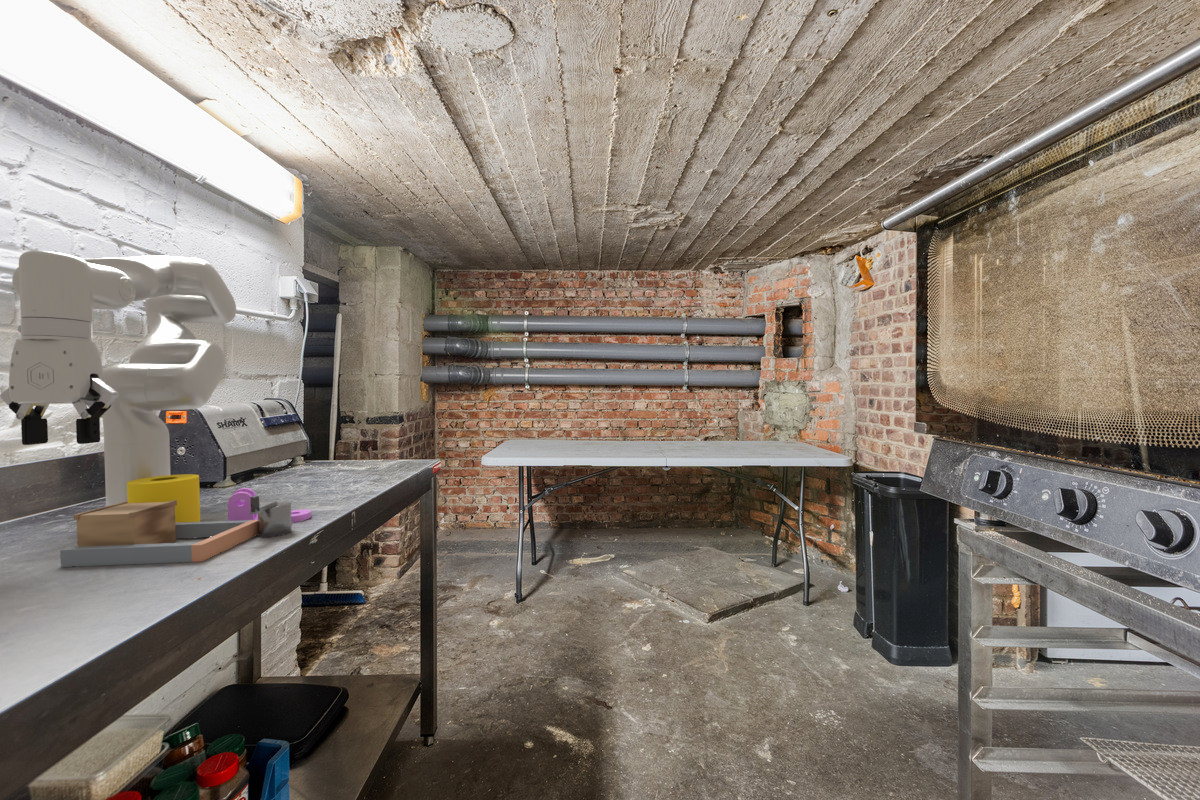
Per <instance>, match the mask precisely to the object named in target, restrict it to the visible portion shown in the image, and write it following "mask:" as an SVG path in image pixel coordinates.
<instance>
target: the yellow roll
mask: <svg viewBox="0 0 1200 800" xmlns="http://www.w3.org/2000/svg"><path fill="white" fill-rule="evenodd" d="M200 493H201V491H200V475H199V474H193V473H188V474H187V473H185V474H182V473H181V474H170V475H166V476H156V477H148V478H142V479H136V480H132V481H129V482H127V500H128V503H152V502H170V501H173V500H177V505H175V523H179V522H201V499H200V498H201V497H200V496H201V495H200Z"/></svg>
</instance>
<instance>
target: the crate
mask: <svg viewBox="0 0 1200 800" xmlns="http://www.w3.org/2000/svg"><path fill="white" fill-rule="evenodd" d="M175 505H177V500H173V501H170V502H152V503H128V502H122V503H118V504H114V505H110V506H106V505H105V506H103V507H99V508H95V509H91V510H87V511H83V512H79V513H75V514H73V520H74V521H76V547H82V546H108V545H135V544H162V543H172V542H174V543H176V542H175V541H177V539H176V530H175Z"/></svg>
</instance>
